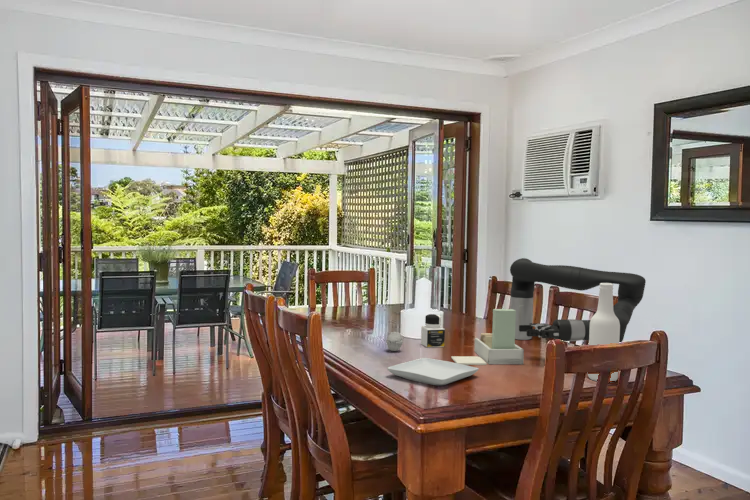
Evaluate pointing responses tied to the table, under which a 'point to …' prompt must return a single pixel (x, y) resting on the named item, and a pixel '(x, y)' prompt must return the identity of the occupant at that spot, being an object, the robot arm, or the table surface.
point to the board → (503, 329)
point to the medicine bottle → (432, 332)
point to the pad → (469, 360)
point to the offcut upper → (486, 337)
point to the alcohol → (604, 323)
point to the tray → (499, 354)
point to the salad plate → (432, 371)
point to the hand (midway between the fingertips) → (522, 330)
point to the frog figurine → (394, 341)
